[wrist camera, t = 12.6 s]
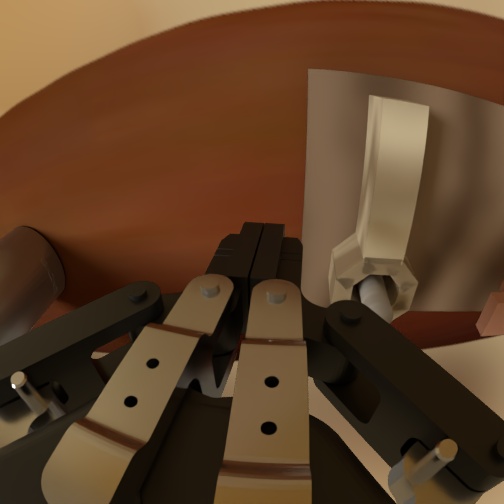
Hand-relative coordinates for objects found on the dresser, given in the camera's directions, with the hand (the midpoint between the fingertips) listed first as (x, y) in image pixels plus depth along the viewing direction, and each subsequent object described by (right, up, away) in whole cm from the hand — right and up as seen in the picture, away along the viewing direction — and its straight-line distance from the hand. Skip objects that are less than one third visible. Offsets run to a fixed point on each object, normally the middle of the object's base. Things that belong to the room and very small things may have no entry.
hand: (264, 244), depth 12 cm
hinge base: (+14, +3, +8) cm, 16 cm away
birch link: (+8, +3, +8) cm, 11 cm away
